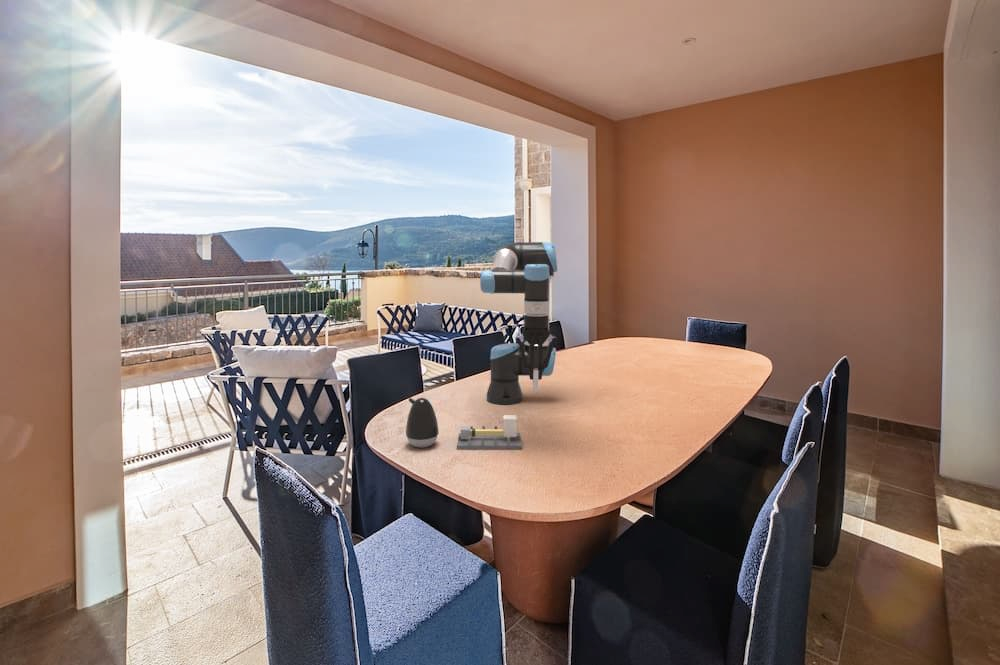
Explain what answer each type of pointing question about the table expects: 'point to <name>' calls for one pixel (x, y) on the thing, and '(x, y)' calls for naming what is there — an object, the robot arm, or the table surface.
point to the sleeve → (509, 426)
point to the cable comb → (487, 439)
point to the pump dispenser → (421, 423)
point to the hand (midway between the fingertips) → (535, 389)
